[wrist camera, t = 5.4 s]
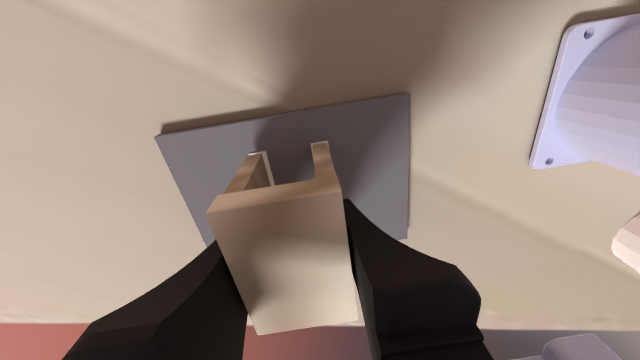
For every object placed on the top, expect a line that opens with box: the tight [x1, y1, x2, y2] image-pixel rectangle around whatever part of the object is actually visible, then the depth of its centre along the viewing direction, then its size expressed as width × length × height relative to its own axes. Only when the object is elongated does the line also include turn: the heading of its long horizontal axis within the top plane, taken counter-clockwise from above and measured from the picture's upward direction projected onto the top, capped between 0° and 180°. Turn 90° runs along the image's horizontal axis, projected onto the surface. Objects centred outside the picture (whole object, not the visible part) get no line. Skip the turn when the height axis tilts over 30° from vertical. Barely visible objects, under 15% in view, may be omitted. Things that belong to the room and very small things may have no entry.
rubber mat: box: [154, 93, 410, 247], centre depth 15 cm, size 14×10×1 cm
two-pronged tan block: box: [205, 142, 358, 335], centre depth 12 cm, size 4×6×6 cm
